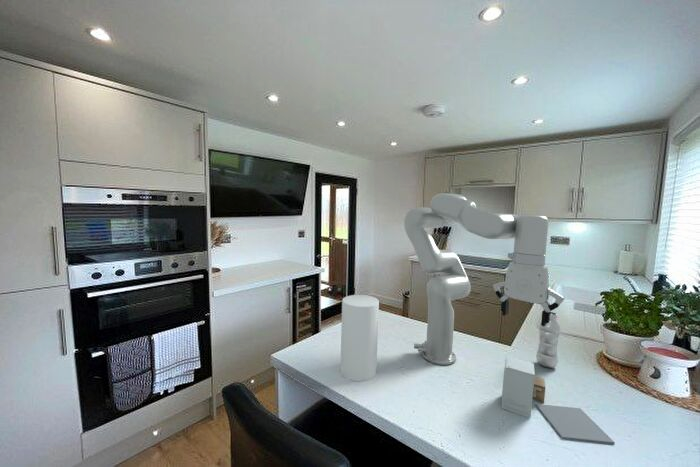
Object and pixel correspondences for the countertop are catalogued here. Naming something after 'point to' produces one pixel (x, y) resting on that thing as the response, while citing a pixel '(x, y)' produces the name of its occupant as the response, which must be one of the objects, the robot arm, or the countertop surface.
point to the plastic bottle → (548, 342)
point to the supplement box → (518, 386)
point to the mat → (574, 424)
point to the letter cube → (539, 389)
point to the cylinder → (359, 337)
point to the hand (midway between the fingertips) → (523, 319)
